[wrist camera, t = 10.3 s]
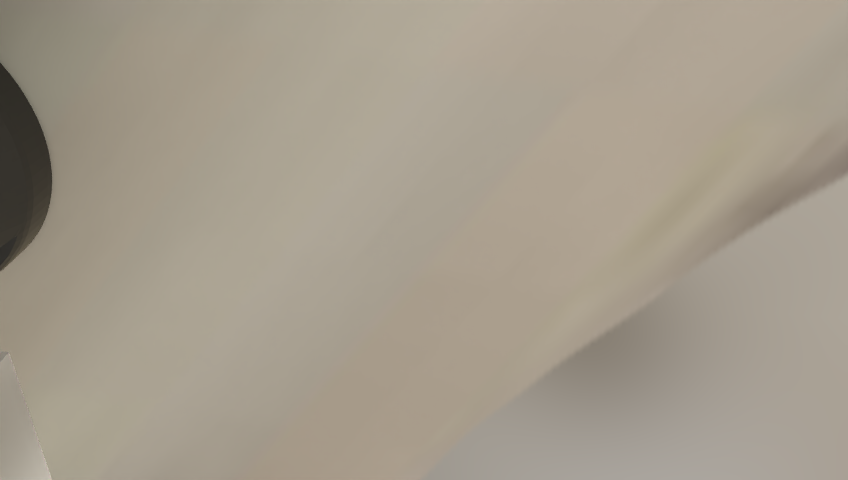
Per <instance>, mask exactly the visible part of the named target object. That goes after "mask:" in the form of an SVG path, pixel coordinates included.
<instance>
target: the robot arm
mask: <svg viewBox="0 0 848 480" xmlns="http://www.w3.org/2000/svg"><path fill="white" fill-rule="evenodd" d="M51 190H52V171H51V162H50V157H49V151H48V148H47V144H46V140H45V137H44V134H43V131H42V129H41V126H40V124H39V122H38V119H37V117H36V115H35V113H34V111H33V109H32V107H31V105H30V103H29V102H28V100H27V98H26V97H25V95H24V93H23V92H22V90H21V89H20V87H19V86H18V84H17V83H16V82H15V80H14V79H13V78H12V76H11V75H10V74H9V73H8V71H7V70H6V69H5V68H4V67H3V65H2V64H1V63H0V271H2V270H3V269H4V268H5V267H6V266H7V265H8V264H9V263H10V262H12V261H13V260H14V259H15V258H16V257H17V256H18V255H19V254H20V253H21V252H22V251H23V250H24V249H25V248H26V247H27V246H28V245H29V244H30V243H31V242H32V240H33V239H34V238H35V236H36V235H37V233H38V232H39V230H40V228H41V227H42V224H43V222H44V220H45V218H46V215H47V212H48V208H49V204H50V198H51ZM0 480H52V478H51V475H50V472H49V469H48V466H47V463H46V460H45V457H44V455H43V452H42V449H41V446H40V443H39V440H38V437H37V434H36V431H35V428H34V425H33V422H32V419H31V416H30V413H29V410H28V407H27V404H26V401H25V398H24V395H23V392H22V389H21V386H20V383H19V380H18V377H17V374H16V371H15V368H14V365H13V362H12V359H11V356H10V353H9V352H0Z"/></svg>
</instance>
